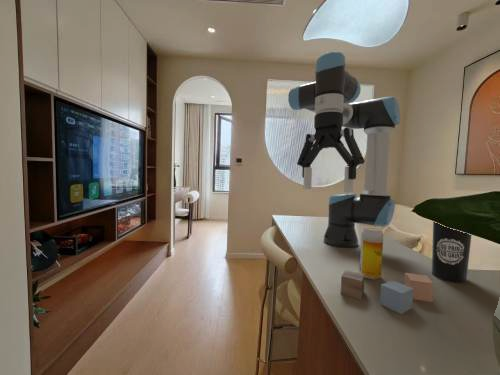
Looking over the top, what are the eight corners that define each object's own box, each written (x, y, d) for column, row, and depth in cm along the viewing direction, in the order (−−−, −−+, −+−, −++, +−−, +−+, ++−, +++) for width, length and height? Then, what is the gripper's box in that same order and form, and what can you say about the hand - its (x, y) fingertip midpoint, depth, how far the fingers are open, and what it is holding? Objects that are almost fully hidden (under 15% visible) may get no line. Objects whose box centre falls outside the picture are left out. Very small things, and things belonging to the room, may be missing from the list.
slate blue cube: (390, 298, 61) (391, 280, 61) (412, 308, 57) (413, 288, 57) (379, 304, 59) (380, 284, 58) (401, 314, 54) (402, 293, 54)
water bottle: (426, 276, 75) (431, 205, 74) (430, 267, 83) (434, 202, 82) (470, 287, 68) (475, 208, 67) (470, 276, 76) (475, 205, 75)
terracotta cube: (404, 290, 66) (405, 272, 66) (425, 293, 65) (426, 275, 64) (409, 298, 62) (410, 280, 61) (432, 302, 60) (433, 283, 60)
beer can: (384, 281, 71) (386, 232, 71) (362, 279, 73) (364, 231, 72) (377, 273, 77) (379, 227, 76) (357, 271, 78) (359, 226, 78)
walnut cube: (344, 286, 68) (345, 269, 67) (364, 292, 65) (364, 274, 64) (340, 294, 63) (341, 275, 63) (361, 299, 61) (361, 280, 60)
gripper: (286, 119, 73) (285, 188, 74) (365, 100, 53) (361, 194, 54) (303, 123, 77) (301, 187, 79) (381, 106, 57) (377, 193, 59)
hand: (326, 190), depth 67 cm, fingers open, 13 cm apart
